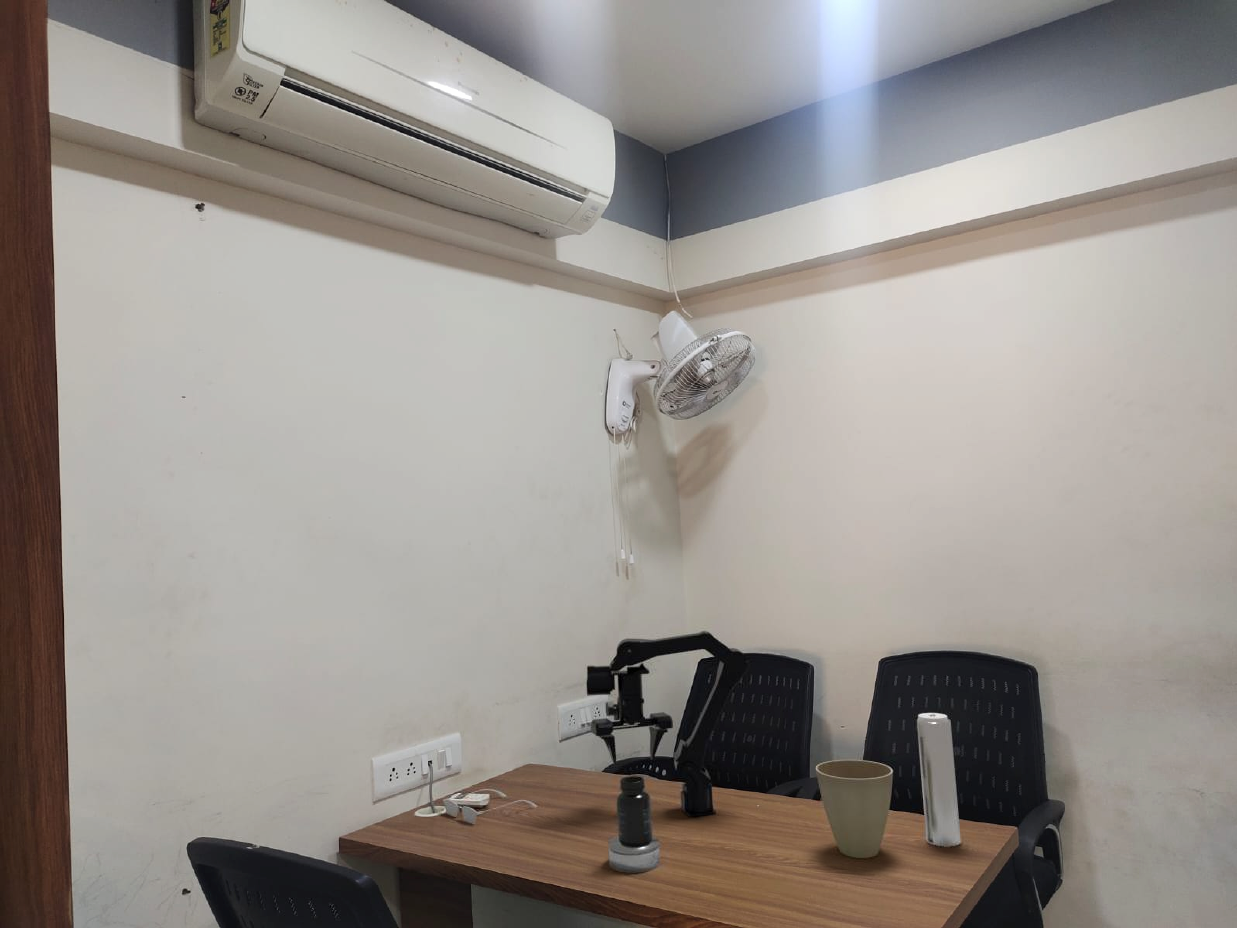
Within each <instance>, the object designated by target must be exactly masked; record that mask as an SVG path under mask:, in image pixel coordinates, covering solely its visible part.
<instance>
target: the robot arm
mask: <svg viewBox="0 0 1237 928" xmlns="http://www.w3.org/2000/svg"><path fill="white" fill-rule="evenodd" d="M699 650H700V651H701V650H705V651H706V652H708V653H709V654H710V655H712V656H713V657H714V658H716V659H717V660H718V661H719V664H718V667H717V671H716V672H717V673H716V677H715V683H714V685H713V687H712V689H711V692H710V694H709V696H708V698H707V701H706V703H705V705H704V707H703V709H702V712H701V714H700V716H699V718H698V720H697V723H696V725H695V727H694V729H693V731H692V734H691V736H690V737H689V738H688V739H687V740H686V741H684V740H683V739H679V743H678V747H677V749H676V751H675V752H674V753H673V757H674V760H673V761H674V768H675V772H676V774H677V776H678V778H679V779H681V780H682V781H684V782H685V783H682V784H681V785H682V790H681V791H680V805H681V807H680V810H681V811H683V812H684V813H685V814H686V815H687V816H688V817H693V818H694V817H699V816H708V815H712V814H713V815H714V814H717V811H716V809H714V803H713V801H714V800H713V785H712V783H711V782H712V780H711V777H710V775H709V773H708V770H707V769H706V768H705V767H704V766H703V764H704V760H705V754H706V749H707V745H708V743H709V741H710V739H711V736H712V734H713V732H714V729H715V727H716V725H717V722H718V721H719V719H720V716H721V714H722V712H723V710H724V708H725V705H726V703H727V701H728V698H729V697H730V694H731V692H732V691H733V689H734V688H735V687H736V686H737V684H739V683H740V681H741V680H742V678H744V675H745V674H746V673H747V671H748V669H749V665H750V663H749V660H748V657H747V656H746V655H745V653H743V652H742V651H741V650H739V649H738V648H736V647H728V646H727V645H725V644H724V643H723V642H721V641H719V640H718V638H716V637H714V635H713V634H712V633H711V632H710V631H707V630H702V631H700V632H696V633H690V634H682V635H677V636H676V635H675V636H669V637H663V638H662V637H661V638H657V639H646V638H624V639H622V640H621V641H620V642H618V644H617V647H616V655H615V656H614V657H613V659H612V660H611V661H610V664H609V665H588V666H587V667H586V683H585V684H586V695H587V696H589V697H590V696H604V695H605V696H606V695H607V696H609V695H611V694H612V693H611V692H613V691H616V678H615V677H616V676H617V690H618V691H617V693H618V695H617V703H616V704H615V701H613V700H612V701H606V702H605V714H606V716H607V717H612V716H613V720H614V721H611V720H610V719H608V718H607V717H606V718H599V719H598V718H597V719H595V718H594V719H592V721H591V722H590V732H591V734H594V736H596V737H598V738H600V739H601V740H603V741H604V743H605V746H606V748H607V750H608V754H609V755H610V760H611V761H612V764H614V765H617V751H616V738H615V735H613V732H614V731H615V730H616V731H618V730H628V729H635V728H636V729H637V728H645V727H648V730H649V734H650V736H649V737H650V738H649V742H650V743H649V756H650V758H649V759H650V760H652V761H654V759H655V756H656V753H657V750H658V748H659V745H660V743H661V742H662V740H663V737H664V734H665V733H668V732H669V729H672V728H674V720H673V718H672V716H670V714H667V713H666V712H664V711H663V712H654V713H650V714H649V717H646V716H644V704H645V699H644V697H643V696H644V695H643V675H649V674H650V669H649V668H648V667H646V665H644V662H646V661H648V660H650V659H653V658H656V657H659V656H660V657H661V656H666V655H674V654H679V653H680V654H681V653H688V652H692V651H694V652H695V651H699ZM638 664H639V665H638ZM635 665H638V666H635ZM625 667H626V670H622V669H624V668H625Z"/></svg>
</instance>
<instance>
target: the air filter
mask: <svg viewBox="0 0 1237 928" xmlns="http://www.w3.org/2000/svg"><path fill="white" fill-rule="evenodd" d="M917 717H918V718H917V719H916V724H917V725H916V726H917V738H918V749H919V750H918V752H919V764H920V765H919V766H920V776H921V789H922V799H923V812H924V813H923V814H924V815H923V816H924V824H925V825H924V826H925V838H926V842H927V843H928V844H930V845H932V846H935V845H936V847H940V846H942V847H941V848H951V847H950V846H955V845H958V846H960V845H961V843H962V842H961V832H960V831H961V830H960V819H959V807H958V806H959V805H958V795H957V794H958V793H957V782H956V772H955V771H956V770H955V759H954V746H953V735H952V724H951V719H949V718H948V715H946V714H943V713H938V712H926V713H925V712H922V713H919V714H918V715H917ZM959 844H960V845H959ZM943 846H944V847H943ZM955 847H956V846H955Z"/></svg>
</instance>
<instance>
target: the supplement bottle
mask: <svg viewBox="0 0 1237 928" xmlns="http://www.w3.org/2000/svg"><path fill="white" fill-rule="evenodd" d="M619 781H620V782H619V783H620V785H619V789H620V793H619V794H618V795H617V796H616V800H615V801H616V802H615V803H616V817H617V831H618V832H617V836H619V842H620V843H621V844H622V845H624V846H628V847H640V846H644V845H647V844H649V843H650V842H651V841H652V839H653V836H654V835H653V834H654V833H653V818H652V806H651V805H652V804H651V796H650V794H649V793H648V792H647V791H646V790H645V788H646V786H645V778H644V777H642V776H639V775H635V776H634V775H633V776H631V775H630V776H625V777H621V778H620V780H619Z"/></svg>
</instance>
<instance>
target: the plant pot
mask: <svg viewBox="0 0 1237 928" xmlns="http://www.w3.org/2000/svg"><path fill="white" fill-rule="evenodd" d="M815 771H816V772H815V773H816V777H817V781H818V787H819V793H820V796H821V799H822V803H823V807H824V810H825V814H826V817H827V820H828V824H829V826H830V829H831V832H832V835H833V838H834V840H835V843H836V845H837V847H838V849H839V851H840V853H841V854H843V856H844V855H845V856H847V857H850V858H856V859H868V858H872V857H873V858H874V857H875V856H877V855H878V854H879V851H880V849H881V845H882V842H883V839H884V835H885V831H886V827H887V822H888V817H889V813H890V806H891V799H892V790H893V789H892V788H893V780H894V779H893V776H894V775H893V774H894V769H892V768H891V767H890V766H889V765H887V764H884V763H880V762H876V761H870V760H863V759H862V760H861V759H860V760H859V759H836V760H830V761H825V762H821V763H818V764H817V765H816V766H815Z"/></svg>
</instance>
